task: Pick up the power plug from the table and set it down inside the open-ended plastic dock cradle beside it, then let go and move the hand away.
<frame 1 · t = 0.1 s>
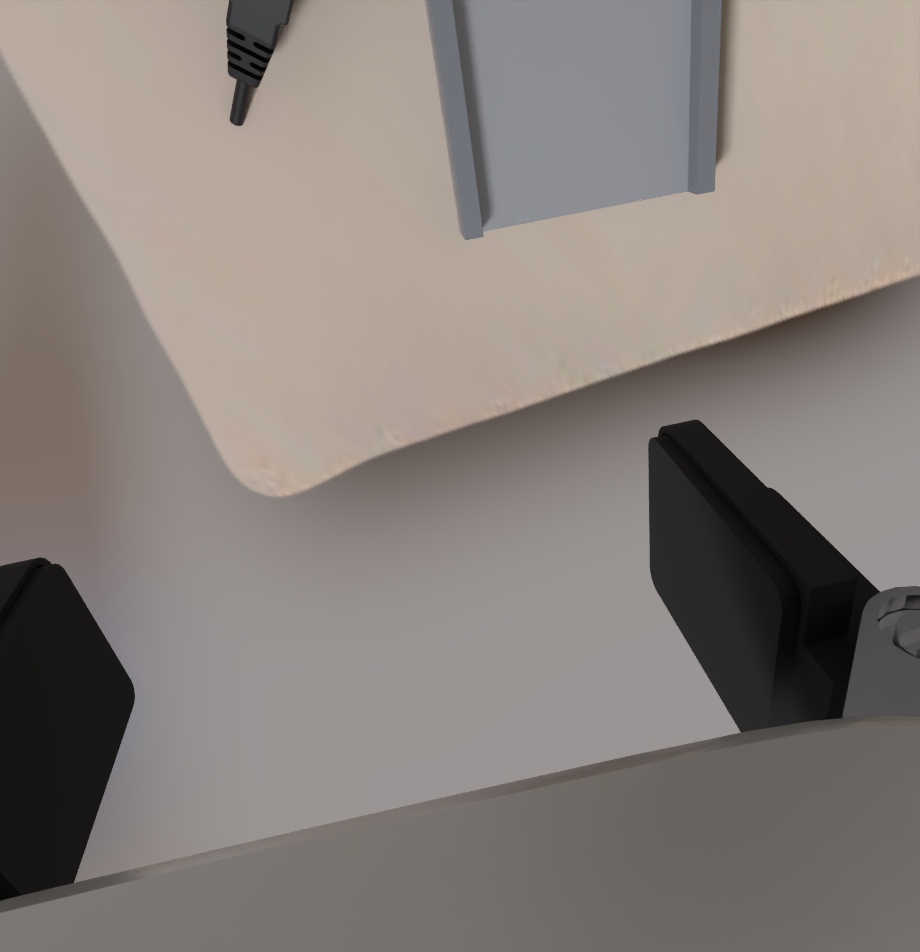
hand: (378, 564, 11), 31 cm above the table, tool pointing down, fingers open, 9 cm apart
dock: (568, 9, 34), on the table
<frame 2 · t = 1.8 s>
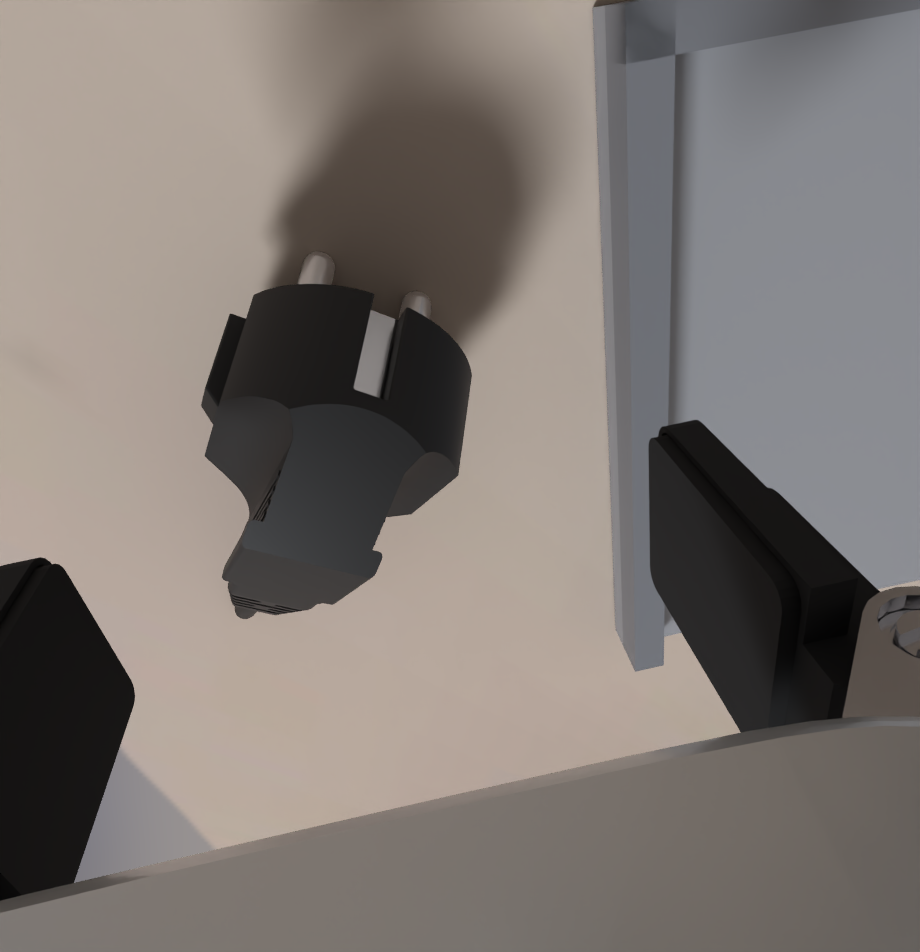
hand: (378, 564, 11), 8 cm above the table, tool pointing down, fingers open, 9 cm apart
power plug: (303, 449, 20), on the table
dock: (838, 352, 20), on the table
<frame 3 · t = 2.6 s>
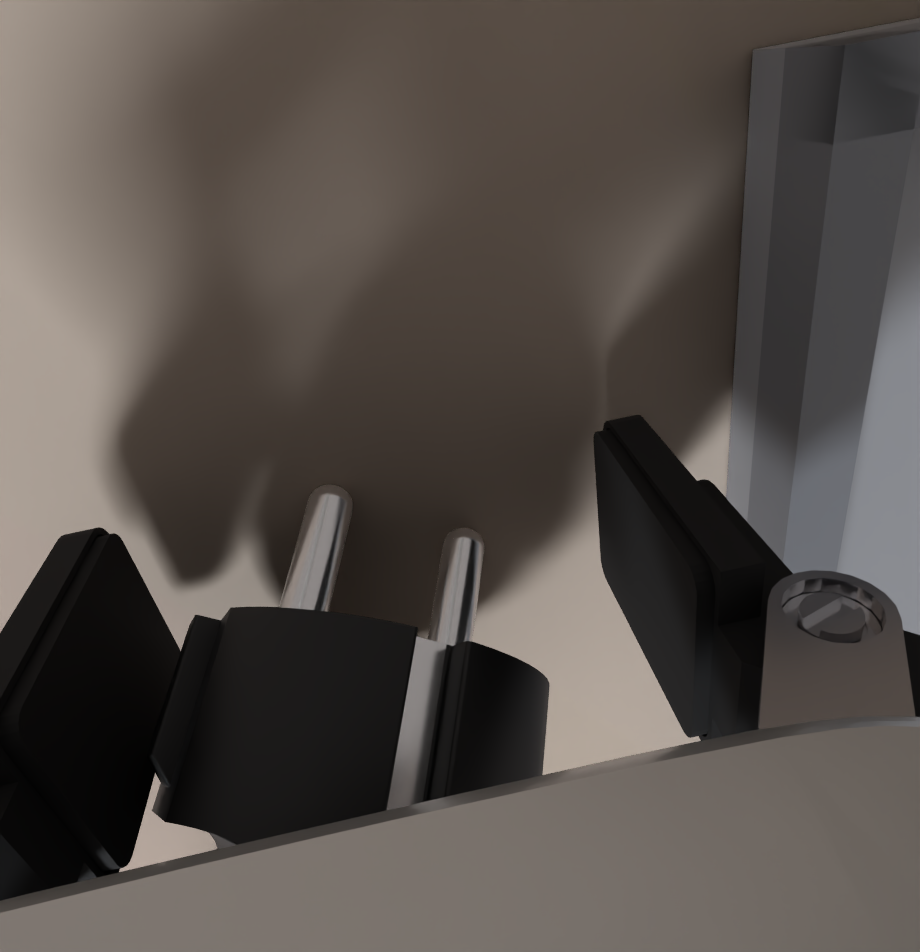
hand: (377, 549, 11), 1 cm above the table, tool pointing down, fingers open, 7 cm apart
power plug: (301, 700, 15), on the table, touching gripper
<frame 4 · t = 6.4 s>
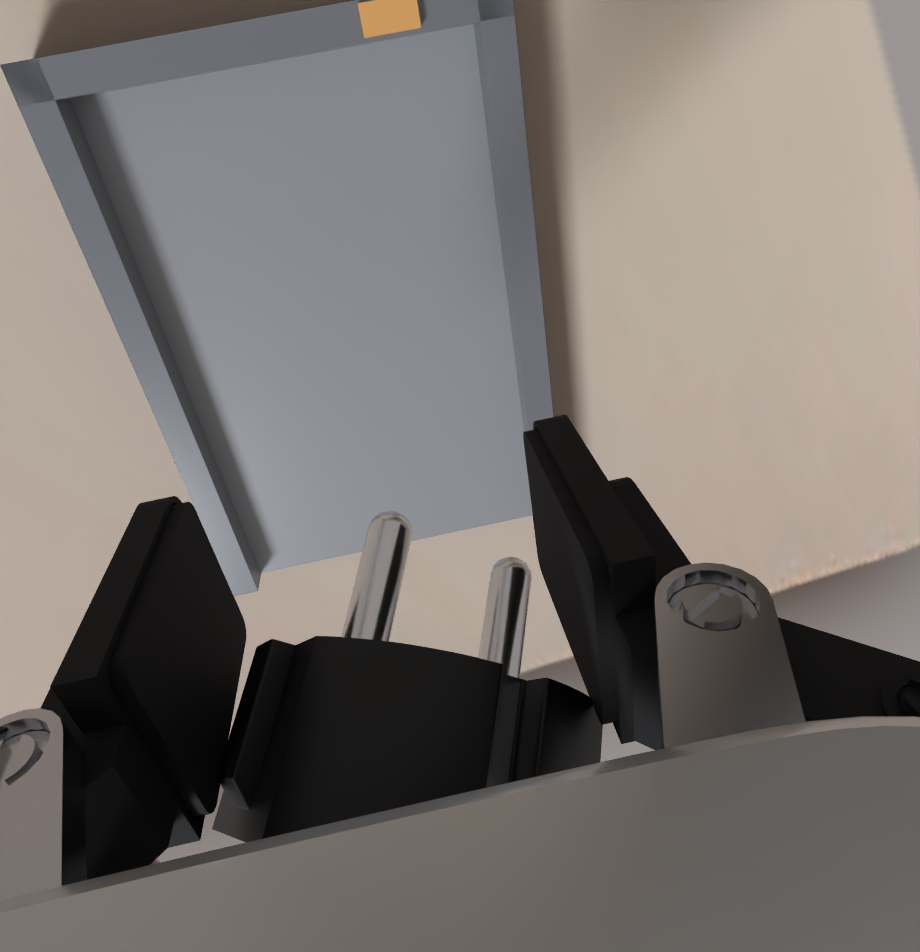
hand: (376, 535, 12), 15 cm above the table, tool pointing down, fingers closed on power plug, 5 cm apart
power plug: (330, 715, 15), point 14 cm above the table, touching gripper
dock: (344, 327, 25), on the table
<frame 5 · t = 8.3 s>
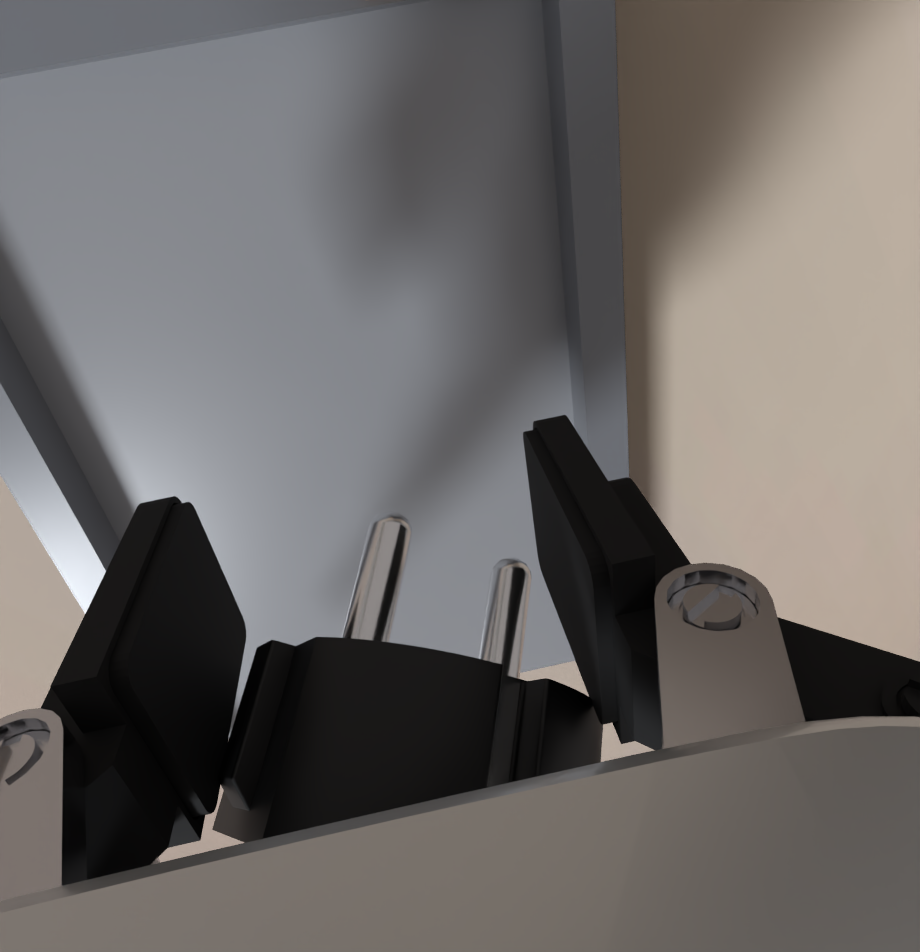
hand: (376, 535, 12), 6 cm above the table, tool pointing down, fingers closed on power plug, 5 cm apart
power plug: (330, 716, 15), point 6 cm above the table, touching gripper
dock: (336, 427, 18), on the table
when the fingers open (2 cm above the table, at t = 9.9 s): power plug stays where it is, resting on dock.
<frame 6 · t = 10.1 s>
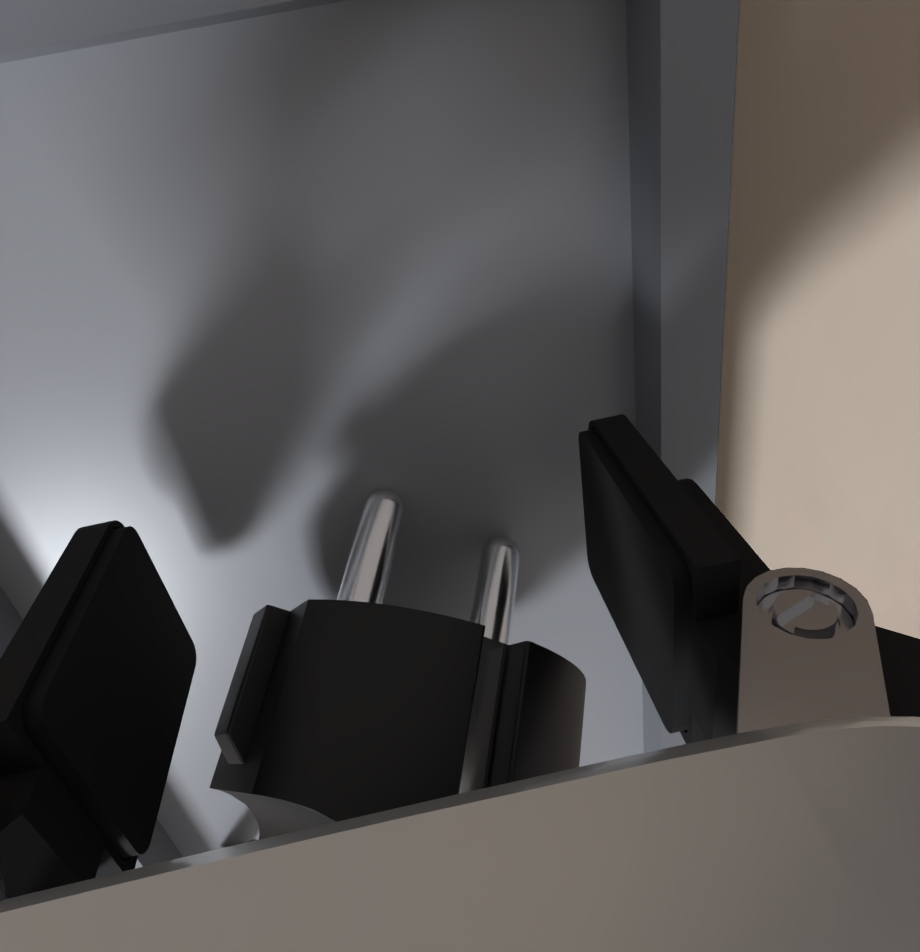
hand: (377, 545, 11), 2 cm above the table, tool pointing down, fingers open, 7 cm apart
power plug: (327, 692, 15), point 1 cm above the table, touching dock
dock: (336, 529, 14), on the table
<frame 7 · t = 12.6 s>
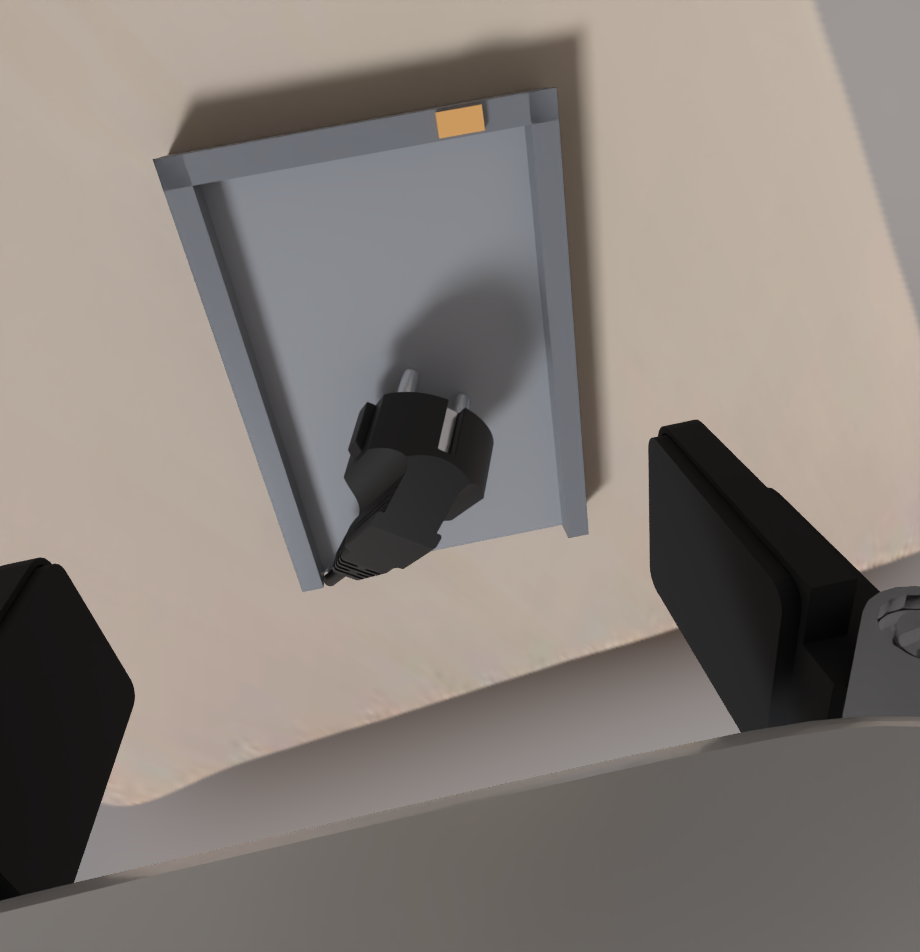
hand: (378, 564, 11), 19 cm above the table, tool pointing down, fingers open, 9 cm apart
power plug: (383, 478, 32), point 1 cm above the table, touching dock
dock: (406, 363, 30), on the table
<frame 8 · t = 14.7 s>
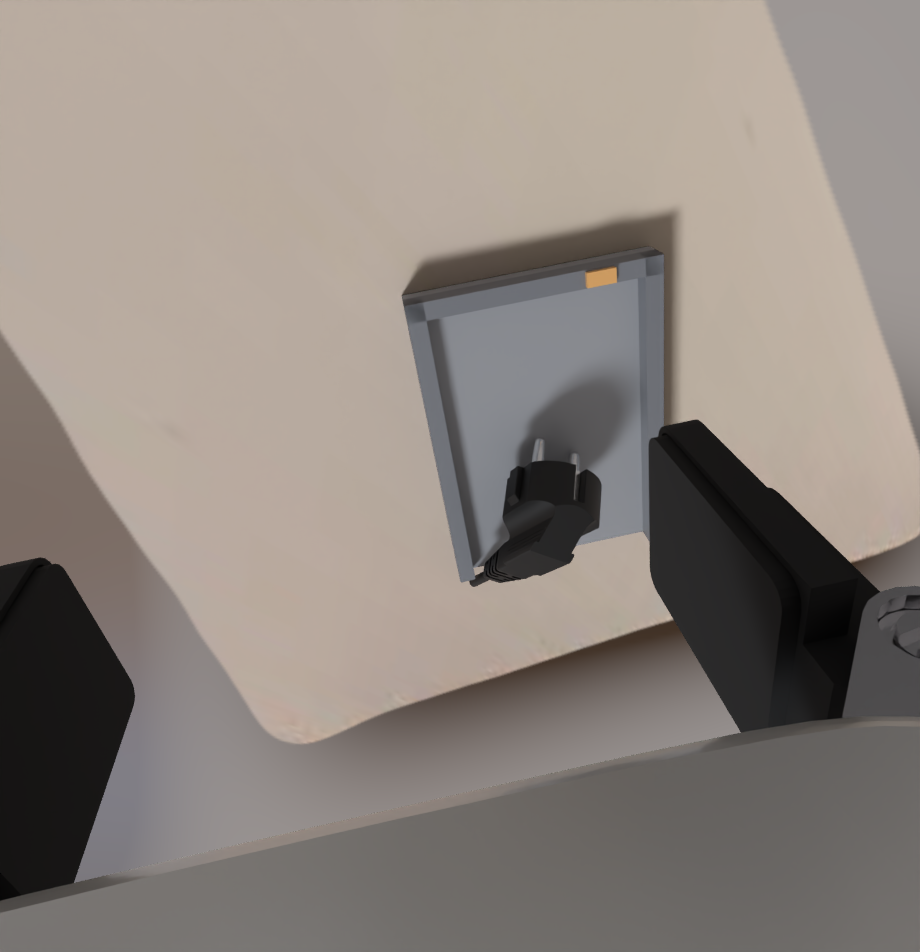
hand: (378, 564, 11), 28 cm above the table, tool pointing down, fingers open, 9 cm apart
power plug: (514, 510, 45), point 1 cm above the table, touching dock
dock: (542, 422, 42), on the table
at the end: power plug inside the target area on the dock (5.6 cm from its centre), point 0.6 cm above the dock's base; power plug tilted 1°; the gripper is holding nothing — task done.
